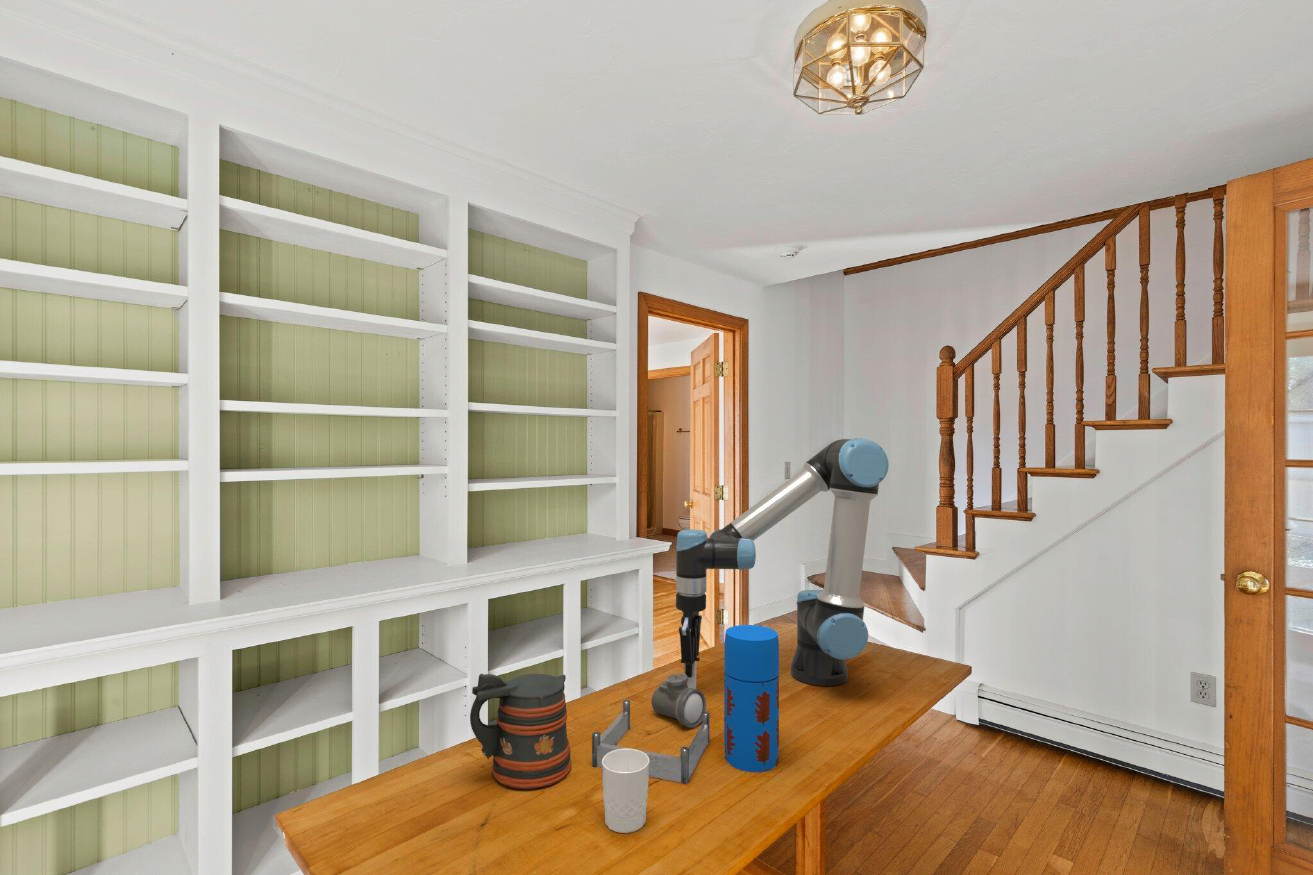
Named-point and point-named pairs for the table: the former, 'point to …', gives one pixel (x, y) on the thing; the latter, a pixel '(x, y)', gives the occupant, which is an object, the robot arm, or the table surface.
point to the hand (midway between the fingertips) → (689, 688)
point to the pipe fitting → (679, 701)
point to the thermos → (751, 697)
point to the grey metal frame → (658, 763)
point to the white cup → (625, 789)
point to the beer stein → (524, 729)
